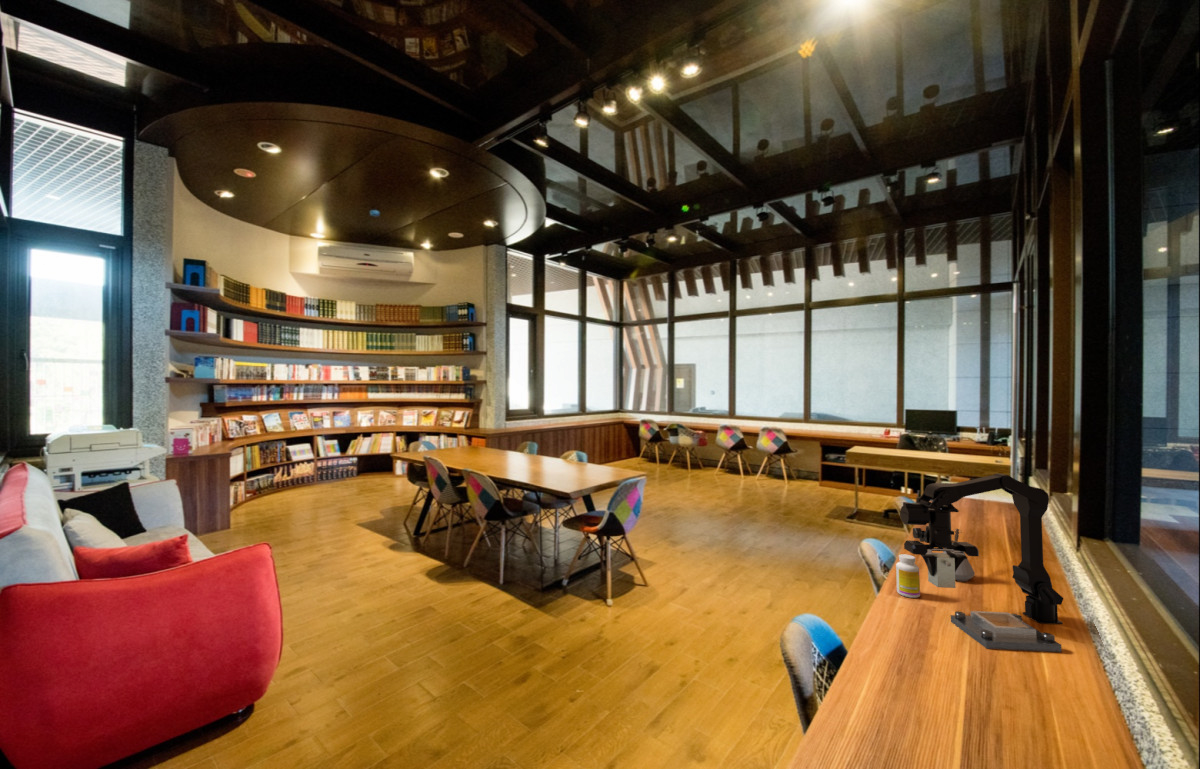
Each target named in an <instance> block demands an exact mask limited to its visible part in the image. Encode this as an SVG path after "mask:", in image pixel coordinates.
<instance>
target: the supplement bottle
mask: <svg viewBox="0 0 1200 769" xmlns="http://www.w3.org/2000/svg"><path fill="white" fill-rule="evenodd" d="M898 559H899V561H898V562H896V563H895V571H896V572H895V574H896V575H895V578H896V579H895V580H896V592H897V593H898V594H899V595H900V596H903V597H906V598H911V599H916V598H919V597H920V596H921V588H920V587H921V586H920V585H921V584H920V582H921V580H920V567H919V566H918V565H917V564H915V562H916V557H915V556H913V555H911V554H906V553H905V554H904V553H902V554H898Z"/></svg>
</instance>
